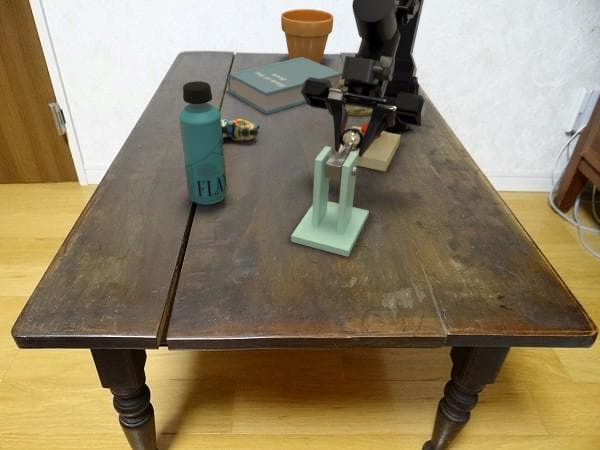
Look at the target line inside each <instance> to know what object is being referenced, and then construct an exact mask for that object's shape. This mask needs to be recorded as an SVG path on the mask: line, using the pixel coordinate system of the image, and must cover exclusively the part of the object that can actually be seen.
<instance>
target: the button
mask: <svg viewBox="0 0 600 450" xmlns="http://www.w3.org/2000/svg"><path fill="white" fill-rule="evenodd" d="M368 124H369V123H364V124H362V125H361V126H360V127H361V132H362V133H363V135H365V132H366V129H367V127H368ZM377 138H379V136H378V137H377ZM377 138H376V139H377Z"/></svg>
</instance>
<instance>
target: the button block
mask: <svg viewBox="0 0 600 450" xmlns="http://www.w3.org/2000/svg"><path fill="white" fill-rule="evenodd" d="M361 127H362V126H357V125H356V126H355V125H353V126H352V127H351V128H357V129H359V130H360V131H361ZM401 137H402V135H401V134H398V133H388V132H385V131H383V132H382V133H381V134H380V135H379V138H377V139H375V140H374V141H373V143H372V144H371V145H370V147H369V148H368V149H367V150H366V152H365V153H364V154H363V156H362V157H360V156H359V155H358V160H357V167H362V168H367V169H372V170H376V171H380V172H386V171H387V169H388V167H389V165H390V164H391V161H392V159H393V158H394V156H395V153H396V152H397V150H398V147H399V146H400V142H401ZM342 148H343V146H342V144H341V147H340V149H339V152H340V151H341V149H342ZM339 152H336V150H335V151H334V154H336V155H338V154H339ZM351 152H357V153H358V154H359V150H357V151H351ZM351 152H350V153H351ZM349 155H350V154H349ZM349 155H348V156H349ZM347 158H348V157H347Z"/></svg>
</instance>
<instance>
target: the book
mask: <svg viewBox="0 0 600 450" xmlns="http://www.w3.org/2000/svg"><path fill="white" fill-rule="evenodd" d="M309 77H312V78H318V79H324V80H330V83H331V85H332V87H333V88H334V89H336V86H337V85H338V84H339V83H340V78H341V77H342V72H341V71H337V70H335V69H333V68H331V67H329V66H326V65H324V64H322V63H321V64H319V63H316V62H314V61H312V60H309V59H305V58H304V57H300V58H295V59H291V60H290V59H287V60H283V61H278V62H273V63H270V64H265V65H260V66H256V67H251V68H247V69H243V70H238V71H235V72H230V73H228V74H227V89H228V92H229V94H231V95H232V96H234V97H235V98H237V99H239V100H241V101H243V102H244V103H246V104H248V105H249V106H252V107H253V108H255V109H256V110H258V111H260V112H262V113H263V114H265V115H269V114H272V113H276V112H280V111H283V110H287V109H289V108H293V107H297V106H300V105H303V104H307V102H306V100H305V98H304V97H303V95H302V93H301V89H302V86H303V83H304V81H306V80H307V79H308V78H309Z"/></svg>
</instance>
